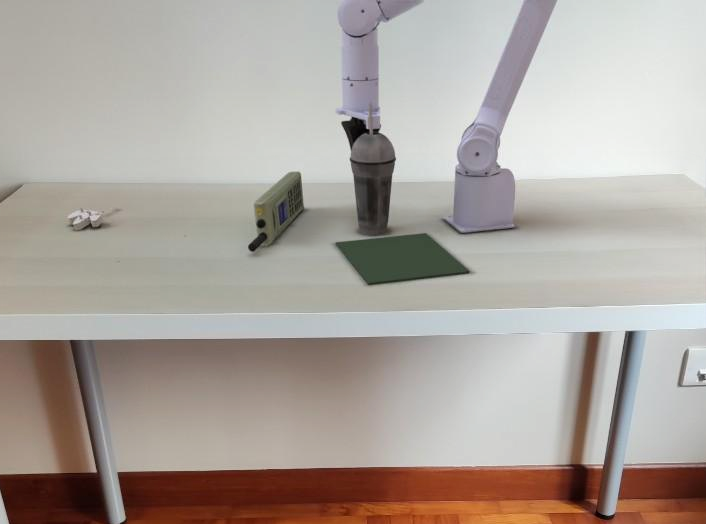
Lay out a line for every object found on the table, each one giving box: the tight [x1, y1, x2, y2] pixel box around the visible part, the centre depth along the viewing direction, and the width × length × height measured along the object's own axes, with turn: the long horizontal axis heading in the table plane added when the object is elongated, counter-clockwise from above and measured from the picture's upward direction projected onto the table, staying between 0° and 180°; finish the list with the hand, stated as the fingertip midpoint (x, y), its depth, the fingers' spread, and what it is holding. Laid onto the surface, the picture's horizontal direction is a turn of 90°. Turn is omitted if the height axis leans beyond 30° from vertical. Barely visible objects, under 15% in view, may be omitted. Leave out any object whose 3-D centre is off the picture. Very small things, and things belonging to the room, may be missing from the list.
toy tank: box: [67, 207, 118, 231], centre depth 138 cm, size 6×12×3 cm, turn 179°
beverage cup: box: [349, 103, 397, 236], centre depth 127 cm, size 7×7×20 cm
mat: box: [335, 232, 470, 286], centre depth 121 cm, size 15×18×1 cm
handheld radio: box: [247, 170, 305, 253], centre depth 131 cm, size 7×3×25 cm
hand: (361, 166), depth 133 cm, fingers closed
